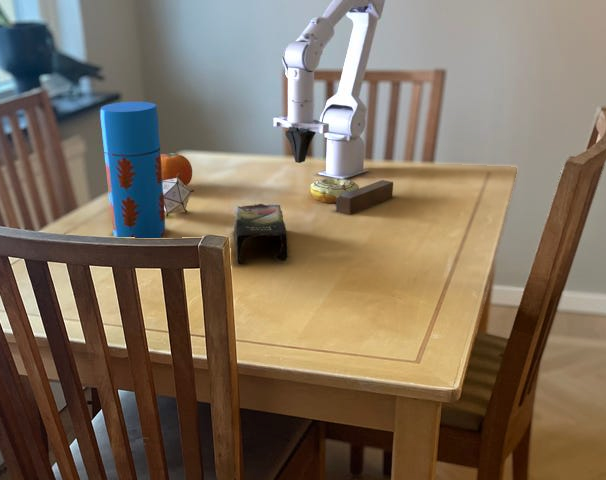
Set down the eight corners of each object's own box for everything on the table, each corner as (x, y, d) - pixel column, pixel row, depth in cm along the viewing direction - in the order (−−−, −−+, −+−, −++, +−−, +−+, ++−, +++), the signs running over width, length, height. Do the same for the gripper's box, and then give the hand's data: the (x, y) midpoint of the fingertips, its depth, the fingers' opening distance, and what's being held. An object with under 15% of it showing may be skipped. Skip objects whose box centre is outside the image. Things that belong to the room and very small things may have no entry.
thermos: (157, 244, 156) (147, 112, 144) (106, 242, 158) (91, 112, 146) (171, 227, 165) (163, 101, 153) (122, 225, 167) (110, 101, 155)
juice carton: (232, 229, 162) (232, 200, 159) (280, 228, 162) (281, 199, 159) (235, 266, 145) (234, 234, 141) (288, 265, 145) (289, 232, 142)
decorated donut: (348, 207, 173) (349, 190, 171) (303, 201, 178) (303, 185, 176) (364, 194, 181) (365, 178, 179) (320, 189, 186) (321, 173, 184)
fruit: (176, 197, 184) (174, 162, 180) (140, 192, 189) (137, 158, 185) (201, 185, 192) (199, 152, 188) (166, 181, 197) (164, 148, 193)
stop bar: (379, 194, 181) (379, 179, 179) (392, 197, 178) (393, 182, 177) (336, 211, 171) (336, 195, 169) (349, 214, 169) (350, 198, 167)
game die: (166, 231, 175) (135, 197, 170) (183, 208, 179) (154, 173, 175) (191, 218, 168) (160, 181, 164) (209, 194, 172) (178, 158, 168)
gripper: (264, 99, 178) (265, 160, 185) (315, 106, 169) (313, 170, 176) (284, 94, 183) (284, 154, 189) (335, 101, 174) (333, 163, 180)
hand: (300, 161), depth 183 cm, fingers closed
